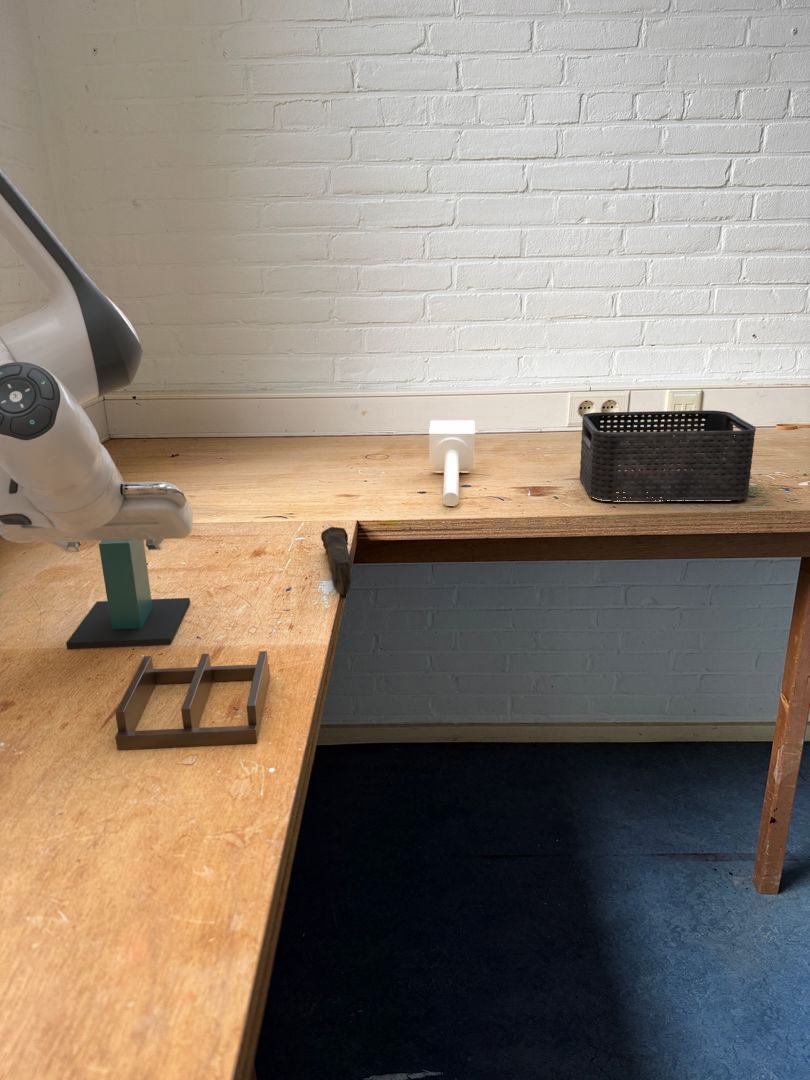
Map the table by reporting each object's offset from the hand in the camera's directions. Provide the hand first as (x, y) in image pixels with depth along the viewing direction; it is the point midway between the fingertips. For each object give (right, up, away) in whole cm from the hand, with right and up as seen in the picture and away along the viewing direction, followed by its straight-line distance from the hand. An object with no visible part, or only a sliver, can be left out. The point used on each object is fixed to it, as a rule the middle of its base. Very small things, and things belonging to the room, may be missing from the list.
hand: (115, 545), depth 94 cm
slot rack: (+14, -16, -14) cm, 26 cm away
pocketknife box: (0, -9, +5) cm, 10 cm away
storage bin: (+83, +10, +59) cm, 102 cm away
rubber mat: (0, -10, +5) cm, 11 cm away
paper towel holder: (+43, +11, +64) cm, 78 cm away
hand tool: (+25, -4, +21) cm, 33 cm away
